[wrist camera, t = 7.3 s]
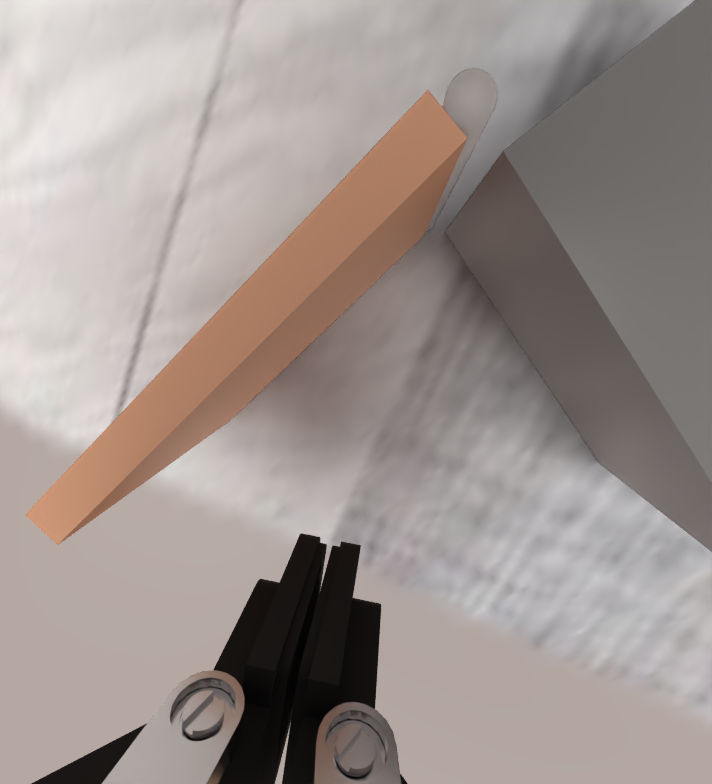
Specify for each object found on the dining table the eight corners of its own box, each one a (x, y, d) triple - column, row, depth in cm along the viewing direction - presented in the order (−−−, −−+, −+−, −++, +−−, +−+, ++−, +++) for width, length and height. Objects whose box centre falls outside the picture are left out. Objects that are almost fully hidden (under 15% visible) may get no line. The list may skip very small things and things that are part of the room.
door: (439, 220, 19) (508, 97, 8) (230, 420, 23) (57, 545, 11) (412, 188, 19) (440, 12, 8) (205, 394, 22) (2, 494, 11)
